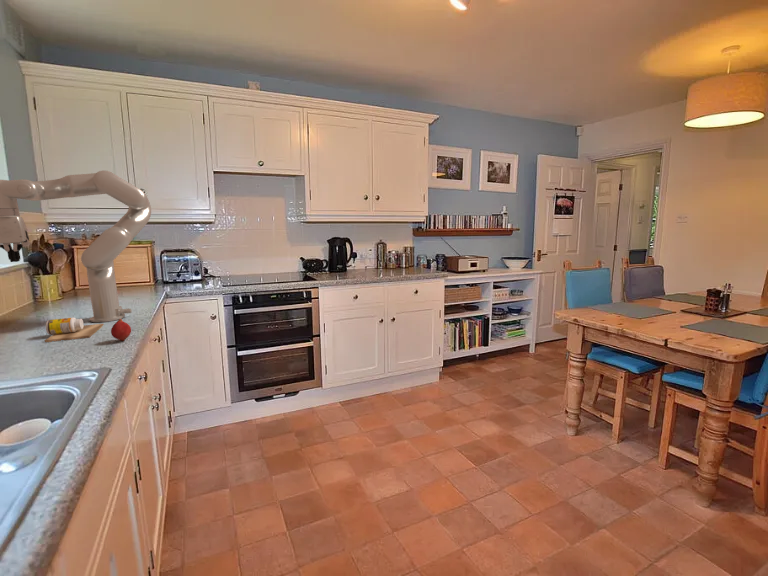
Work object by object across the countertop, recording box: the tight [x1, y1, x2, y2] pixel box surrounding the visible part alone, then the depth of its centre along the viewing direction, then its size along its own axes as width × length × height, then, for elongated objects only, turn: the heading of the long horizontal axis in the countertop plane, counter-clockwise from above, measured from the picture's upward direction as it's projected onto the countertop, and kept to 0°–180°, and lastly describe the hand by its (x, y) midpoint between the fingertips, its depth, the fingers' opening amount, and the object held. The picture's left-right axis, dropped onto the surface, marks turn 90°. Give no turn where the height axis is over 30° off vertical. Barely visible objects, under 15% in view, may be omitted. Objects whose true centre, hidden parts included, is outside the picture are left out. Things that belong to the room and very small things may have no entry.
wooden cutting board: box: [44, 323, 104, 343], centre depth 147 cm, size 13×18×1 cm
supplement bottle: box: [45, 317, 84, 336], centre depth 145 cm, size 6×6×10 cm
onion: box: [110, 318, 132, 342], centre depth 136 cm, size 6×6×8 cm
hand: (15, 261), depth 150 cm, fingers closed
